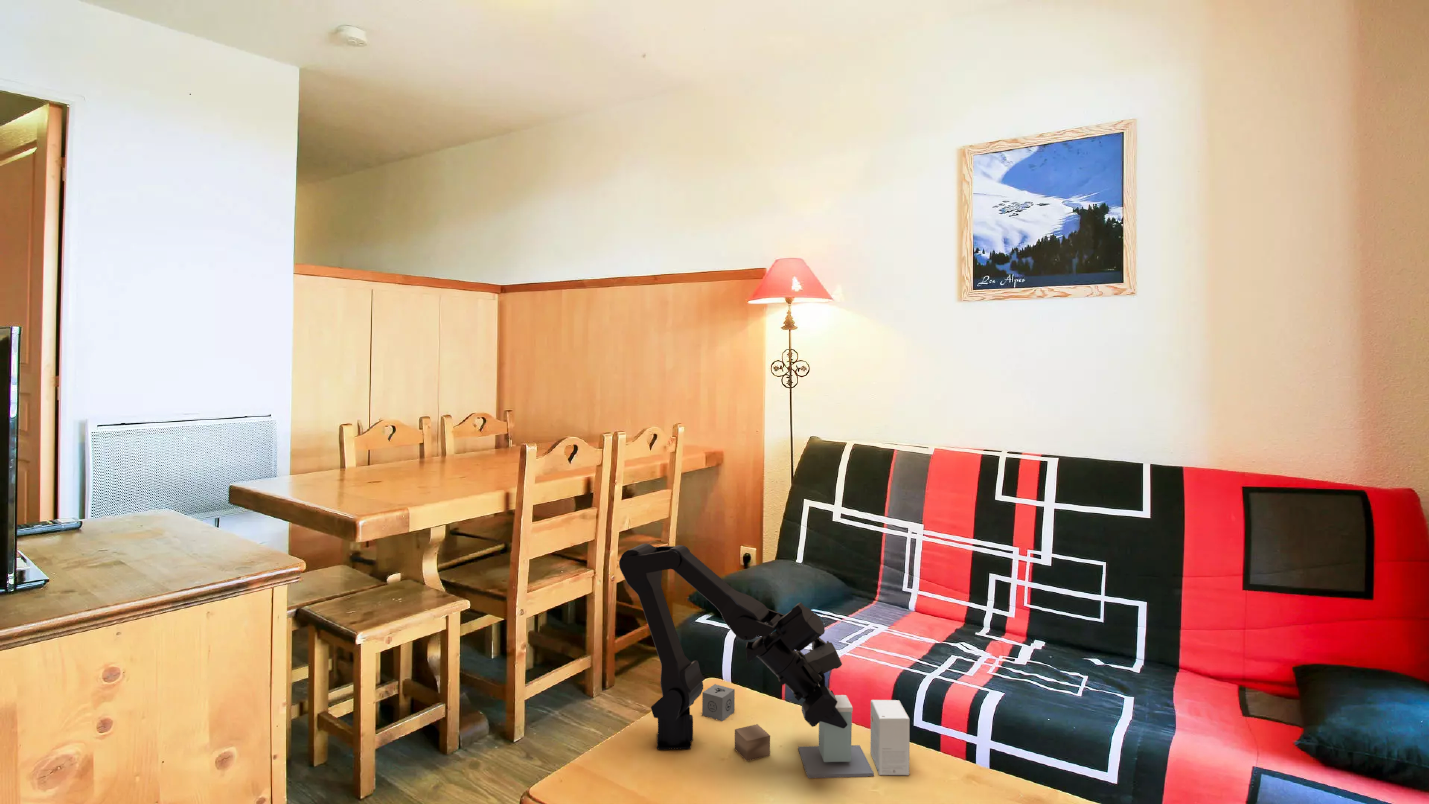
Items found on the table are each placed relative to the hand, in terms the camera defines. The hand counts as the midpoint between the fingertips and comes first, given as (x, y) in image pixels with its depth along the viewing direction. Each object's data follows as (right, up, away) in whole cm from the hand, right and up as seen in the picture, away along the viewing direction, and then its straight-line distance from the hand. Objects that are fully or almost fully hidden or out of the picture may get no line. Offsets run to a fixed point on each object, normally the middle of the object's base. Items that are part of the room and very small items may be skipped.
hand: (842, 719), depth 134 cm
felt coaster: (-1, -8, 0) cm, 8 cm away
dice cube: (-23, -8, +20) cm, 31 cm away
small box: (+9, -8, 0) cm, 12 cm away
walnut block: (-17, -8, +4) cm, 19 cm away
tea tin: (-1, -7, 0) cm, 7 cm away
